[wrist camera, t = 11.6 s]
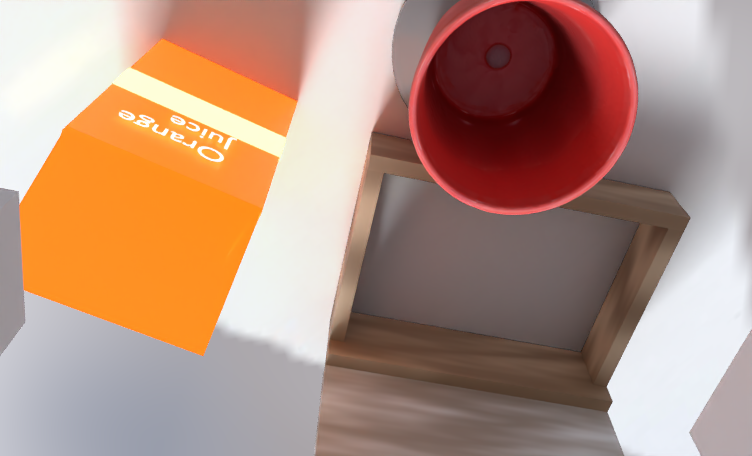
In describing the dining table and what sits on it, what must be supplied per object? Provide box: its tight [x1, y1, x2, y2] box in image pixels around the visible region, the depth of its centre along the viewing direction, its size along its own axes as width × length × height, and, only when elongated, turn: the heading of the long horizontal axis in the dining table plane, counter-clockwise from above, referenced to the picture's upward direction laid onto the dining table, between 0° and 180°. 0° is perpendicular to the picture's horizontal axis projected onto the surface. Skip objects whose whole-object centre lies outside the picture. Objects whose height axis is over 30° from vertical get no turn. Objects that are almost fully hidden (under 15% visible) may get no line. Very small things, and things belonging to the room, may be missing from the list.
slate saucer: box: [392, 0, 594, 109], centre depth 41 cm, size 12×12×1 cm
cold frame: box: [314, 132, 690, 456], centre depth 40 cm, size 17×20×20 cm
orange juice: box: [19, 39, 298, 356], centre depth 35 cm, size 8×9×20 cm
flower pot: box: [408, 0, 638, 215], centre depth 36 cm, size 11×11×10 cm
